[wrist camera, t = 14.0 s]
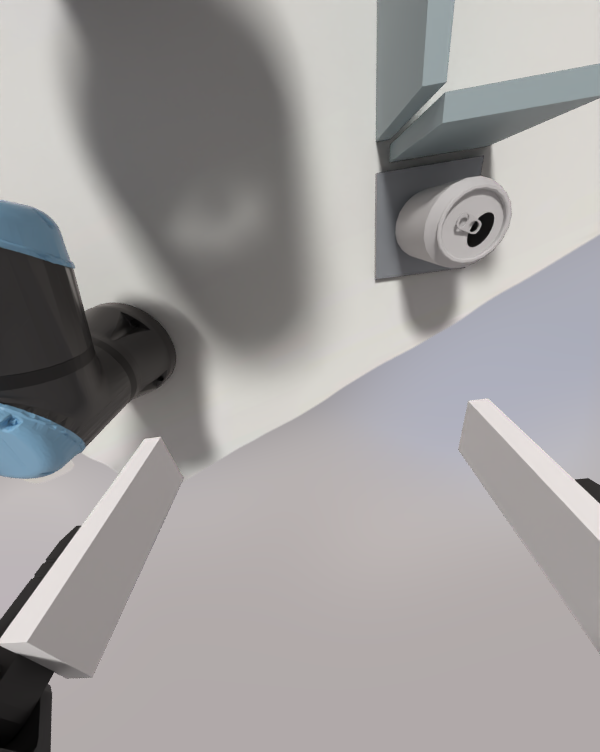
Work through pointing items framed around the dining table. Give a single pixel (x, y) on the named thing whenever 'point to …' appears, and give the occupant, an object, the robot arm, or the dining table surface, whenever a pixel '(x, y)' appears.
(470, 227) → the can
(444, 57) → the screen
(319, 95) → the dining table surface
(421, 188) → the coaster
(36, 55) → the dining table surface
